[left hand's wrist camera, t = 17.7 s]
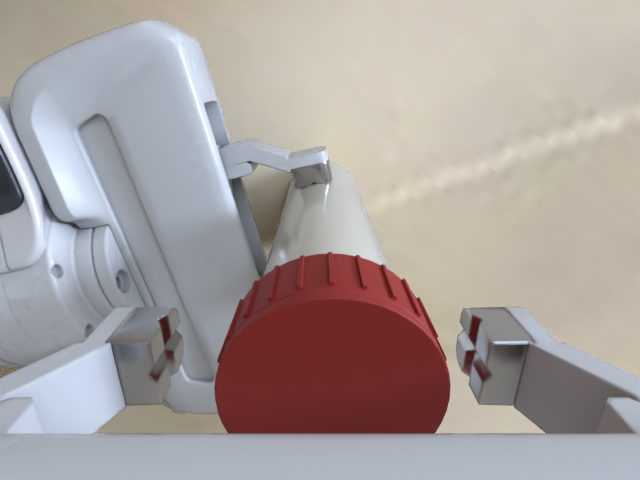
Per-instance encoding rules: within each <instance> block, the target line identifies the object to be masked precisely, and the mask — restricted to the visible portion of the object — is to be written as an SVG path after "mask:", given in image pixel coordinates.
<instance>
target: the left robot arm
mask: <svg viewBox="0 0 640 480" xmlns="http://www.w3.org/2000/svg"><path fill="white" fill-rule="evenodd" d="M179 323H180V317H179V312H178V310H177V309H176V308H170V307H117V308H115V309H114V310H113V311H112V312H111V313H110V314H109V315H108V316H107V317H106V318H105V319H104V320H103V321H102V322H101V323H100V324H99V325H98V327H97V328H96V329H95V330H94V331H93V332H92V333H91V334H90V335H89V336H88V337H87V338H86V339H85V340H84V341H83V342H82V343H75V344H72V345H70V346H68V347H66V348H64V349H61V350H59V351H57V352H55V353H53V354H51V355H48V356H46V357H44V358H42V359H40V360H38V361H35V362H33V363H31V364H29V365H27V366H25V367H22V368H20V369H18V370H16V371H14V372H12V373H9V374H7V375H5V376H3V377H1V378H0V480H640V378H639V377H637V376H635V375H633V374H630V373H628V372H626V371H624V370H622V369H620V368H617V367H615V366H613V365H611V364H609V363H607V362H604V361H602V360H600V359H598V358H596V357H594V356H591V355H589V354H587V353H585V352H583V351H581V350H578V349H576V348H574V347H572V346H570V345H568V344H566V343H558V342H557V341H556V340H555V339H554V338H553V337H552V336H551V335H550V334H549V333H548V332H547V331H546V330H545V329H544V328H543V326H542V325H541V324H540V323H539V322H538V321H537V320H536V319H535V318H534V317H533V316H532V315H531V314H530V313H529V312H528V311H527V310H526V308H523V307H521V306H520V307H491V308H463V311H462V313H461V317H460V323H461V325H462V327H463V329H464V330H463V331H462V332H461V333H460V334H459V335H458V336H457V343H456V353H457V360H458V363H459V366H460V368H461V370H462V372H463V373H465V374H466V375H468V376H469V377H470V380H469V386H470V388H471V390H472V392H473V394H474V396H475V398H476V400H477V402H478V404H480V405H514V407H515V408H516V409H517V410H518V411H520V412H521V413H522V414H523V415H524V416H526V417H527V418H528V419H529V420H531V421H532V422H533V423H534V424H536V425H537V426H538V427H539V428H540V429H542V430H543V431H544V432H545V433H547V434H100V433H95V432H96V431H97V430H98V429H100V428H101V427H102V426H103V425H105V424H106V423H107V422H108V421H110V420H111V419H112V418H113V417H114V416H116V415H117V414H118V413H119V412H121V411H122V410H123V409H124V408H126V405H159V404H162V402H163V400H164V398H165V396H166V394H167V392H168V390H169V388H170V386H171V380H170V377H171V376H172V375H174V374H175V373H177V372H178V370H179V368H180V366H181V364H182V359H183V354H184V342H183V336H182V335H181V334H180V333H179V332H178V331H177V330H176V329H177V327H178V325H179Z"/></svg>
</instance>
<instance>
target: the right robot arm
mask: <svg viewBox="0 0 640 480" xmlns="http://www.w3.org/2000/svg"><path fill="white" fill-rule="evenodd" d="M258 164H261V165H264V166H268V167H271V168H275V169H278V170H282V171H285V172H289V173H292V177H293V180H294V184H295V187H296V189H300V188H305V187H308V186H310V185H311V184H312V183H313V182H314V183H317V184H323V183H326V182H329V181H331V180H332V174H331V169H330V164H329V158H328V154H327V149H326V146H320V147H315V148H311V149H306V150H302V151H297V152H293V153H290V150H286V149H283V148H280V147H277V146H274V145H271V144H268V143H265V142H262V141H259V140H255V139H248V140H243V141H239V142H235V143H231V141H230V138H229V134H228V131H227V128H226V124H225V121H224V118H223V115H222V111H221V108H220V105H219V102H218V98H217V95H216V92H215V88H214V85H213V82H212V79H211V75H210V72H209V69H208V65H207V62H206V59H205V55H204V52H203V49H202V46H201V45H200V43H199V42H198V41H197V40H196V39H195V38H194V37H192V36H190V35H189V34H187V33H186V32H184V31H183V30H181V29H179V28H177V27H175V26H173V25H171V24H169V23H166V22H162V21H157V20H144V21H138V22H134V23H130V24H126V25H123V26H120V27H117V28H114V29H111V30H108V31H105V32H102V33H100V34H97V35H94V36H91V37H89V38H86V39H84V40H82V41H79V42H77V43H74V44H72V45H70V46H67V47H65V48H63V49H61V50H59V51H57V52H55V53H53V54H51V55H48V56H46V57H44V58H43V59H41V60H39V61H37V62H36V63H34V64H33V65H31V66H30V67H29V68H27V69H26V70H25V71H24V72H23V73H22V74H21V76H20V77H19V78H18V79H17V81H16V83H15V85H14V87H13V89H12V93H11V96H10V97H2V98H0V366H3V367H16V368H22V367H25V366H27V365H29V364H31V363H33V362H35V361H38V360H40V359H42V358H44V357H46V356H48V355H51V354H53V353H55V352H57V351H59V350H61V349H64V348H66V347H68V346H70V345H72V344H75V343H82V342H83V341H84V340H85V339H86V338H87V337H88V336H89V335H90V334H91V333H92V332H93V331H94V330H95V329H96V328H97V327H98V325H99V324H100V323H101V322H102V321H103V320H104V319H105V318H106V317H107V316H108V315H109V314H110V313H111V312H112V311H113V310H114V309H115V308H117V307H170V308H176V309H177V310H178V312H179V317H180V323H179V325H178V327H177V329H176V330H177V331H178V332H179V333H180V334H181V335H182V336H183V342H184V354H183V359H182V364H181V366H180V368H179V370H178V372H177V373H175V374H174V375H172V376H171V377H170V380H171V386H170V388H169V390H168V392H167V394H166V396H165V398H164V400H163V402H162V404H164V405H165V406H167V407H169V408H171V409H172V410H173V411H174V412H176V413H192V414H218V410H217V406H216V402H215V389H214V387H215V378H216V373H217V370H218V366H219V363H217V360H218V357H219V354H220V351H221V349H222V346H223V343H224V340H225V338H226V335H227V332H228V330H229V327H230V324H231V322H232V319H233V316H234V314H235V311H236V308H237V306H238V303H239V301H240V299H242V300H243V299H244V298H245V296H246V295H247V293H248V292H249V290H250V289H251V288H252V285H253V282H254V281H255V280H257V281H259V280H260V279H261V278H262V277H263V276H264V272H265V269H266V265H267V259H266V256H265V253H264V249H263V246H262V243H261V239H260V236H259V233H258V230H257V226H256V223H255V220H254V216H253V213H252V210H251V207H250V203H249V200H248V197H247V193H246V190H245V187H244V184H243V180H242V177H243V176H247V175H251V173H252V172H253V171H254V169H255V168H256V167H257V166H258Z"/></svg>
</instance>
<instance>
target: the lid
mask: <svg viewBox="0 0 640 480" xmlns="http://www.w3.org/2000/svg"><path fill="white" fill-rule="evenodd" d="M437 337H438V335H437V333H436V331H435V328H434V326H433V324H432V322H431V320H430V318H429V316H428V314H427V312H426V310H425V308H424V306H423V304H422V302H421V300H420V298H419V297H418V298H416V297H415V296H414V294H413V293H412V291H411V290H410V288H409V286H408V284H407V281H406V280H405V279H402V280H401V279H400V278H399V277H398V276H396V275H395V274H394V273H393V272H391V271H390V270H388V269H387V268H386V265H384V264H382V265H379V264H377V263H375V262H372V261H370V260H367V259H364V258H361V257H360V255H356V256H352V255H346V254H333V253H332V252H328V253H327V254H315V255H310V256H305V257H304V255H302V256H300V258H298V259H295V260H291V261H289V262H287V263H285V264H282V265H280V266H278V265H276V266H274V269H273V270H272V271H270V272H269V273H267V274H266V275H265V276H263V277H262V278H261V279H260V280H259V281H257V280H255V281H254V282H253V285H252V288H251V289H250V290H249V292H248V293H247V295H246V296H245V298H244V299H243V300H242V299H240V301H239V303H238V306H237V308H236V311H235V314H234V316H233V319H232V322H231V324H230V327H229V330H228V332H227V335H226V338H225V340H224V343H223V346H222V349H221V351H220V354H219V357H218V360H217V363H219V366H218V370H217V373H216V378H215V387H214V389H215V402H216V406H217V410H218V414H219V416H220V419H221V421H222V424H223V425H224V427H225V429H226V430H227V432H228V434H434V433H435V432H436V431H437V429H438V427H439V426H440V424H441V422H442V420H443V418H444V415H445V413H446V411H447V407H448V402H449V398H450V377H449V371H448V368H447V364H446V356H445V354H444V352H443V350H442V348H441V346H440V344H439V341H438V339H437Z"/></svg>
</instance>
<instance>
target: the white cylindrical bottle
mask: <svg viewBox="0 0 640 480" xmlns="http://www.w3.org/2000/svg"><path fill="white" fill-rule="evenodd" d="M329 164H330V169H331V174H332V180H331V181H329V182H326V183H323V184H317V183H314V182H313V183H312V184H311V185H310V186H308V187H305V188H300V189H296V187H295V184H294V180H293V178H292V181H291V183H290V186H289V190H288V193H287V197H286V200H285V203H284V207H283V210H282V214H281V217H280V221H279V224H278V227H277V231H276V234H275V238H274V241H273V245H272V248H271V252H270V255H269V258H268V262H267V265H266V269H265V272H264V276H265V275H266V274H267V273H269V272H270V271H272V270H273V269H274V266H276V265H278V266H280V265H282V264H285V263H287V262H289V261H291V260H295V259H298V258H300V256H302V255H304V257H305V256H310V255H315V254H327V253H328V252H332V253H333V254H346V255H352V256H356V255H360V257H361V258H364V259H367V260H370V261H372V262H375V263H377V264H379V265H382V264H384V265H386V268H387V269H388V270H390V268H389V266H388V263H387V261H386V258H385V256H384V253H383V251H382V248H381V246H380V243H379V240H378V238H377V235H376V233H375V230H374V228H373V225H372V223H371V220H370V218H369V215H368V213H367V210H366V208H365V205H364V202H363V200H362V197H361V195H360V192H359V190H358V187H357V185H356V182H355V180H354V178H353V176H352V175H351V173H350V172H349V171H348V170H347V169H346V168H345V167H343V166H342V165H340V164H338V163H336V162H333V161H329Z"/></svg>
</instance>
